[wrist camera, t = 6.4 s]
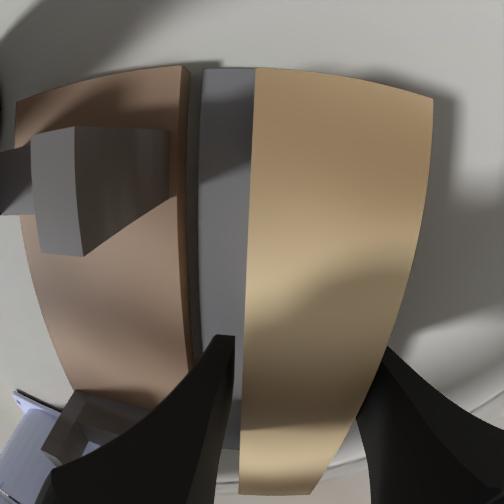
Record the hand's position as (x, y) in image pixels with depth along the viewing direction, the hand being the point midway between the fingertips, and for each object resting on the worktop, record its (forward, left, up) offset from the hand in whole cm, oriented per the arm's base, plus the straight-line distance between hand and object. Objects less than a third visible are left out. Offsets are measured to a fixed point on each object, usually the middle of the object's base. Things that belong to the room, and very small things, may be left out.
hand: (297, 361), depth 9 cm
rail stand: (0, +7, -2) cm, 8 cm away
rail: (0, 0, -1) cm, 1 cm away
